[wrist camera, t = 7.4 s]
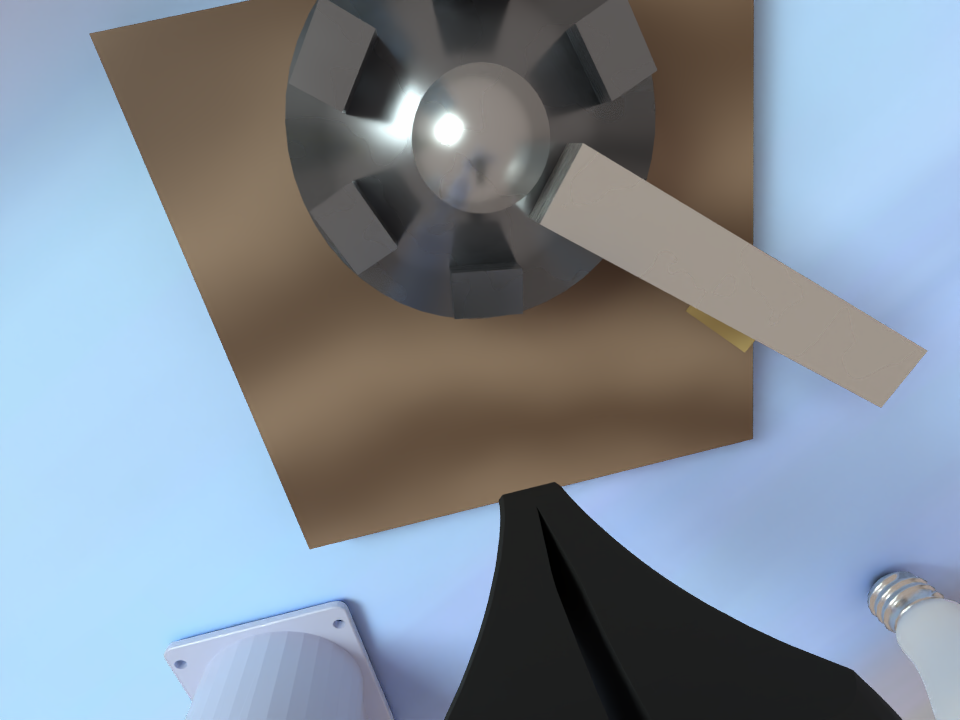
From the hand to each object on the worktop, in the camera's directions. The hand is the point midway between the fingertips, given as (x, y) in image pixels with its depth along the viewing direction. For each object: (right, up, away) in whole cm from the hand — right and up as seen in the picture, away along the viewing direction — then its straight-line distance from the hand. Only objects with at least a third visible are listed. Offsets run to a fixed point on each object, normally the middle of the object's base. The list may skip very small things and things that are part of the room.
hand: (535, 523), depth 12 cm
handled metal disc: (+3, +8, +5) cm, 10 cm away
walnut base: (-1, +7, +7) cm, 10 cm away
